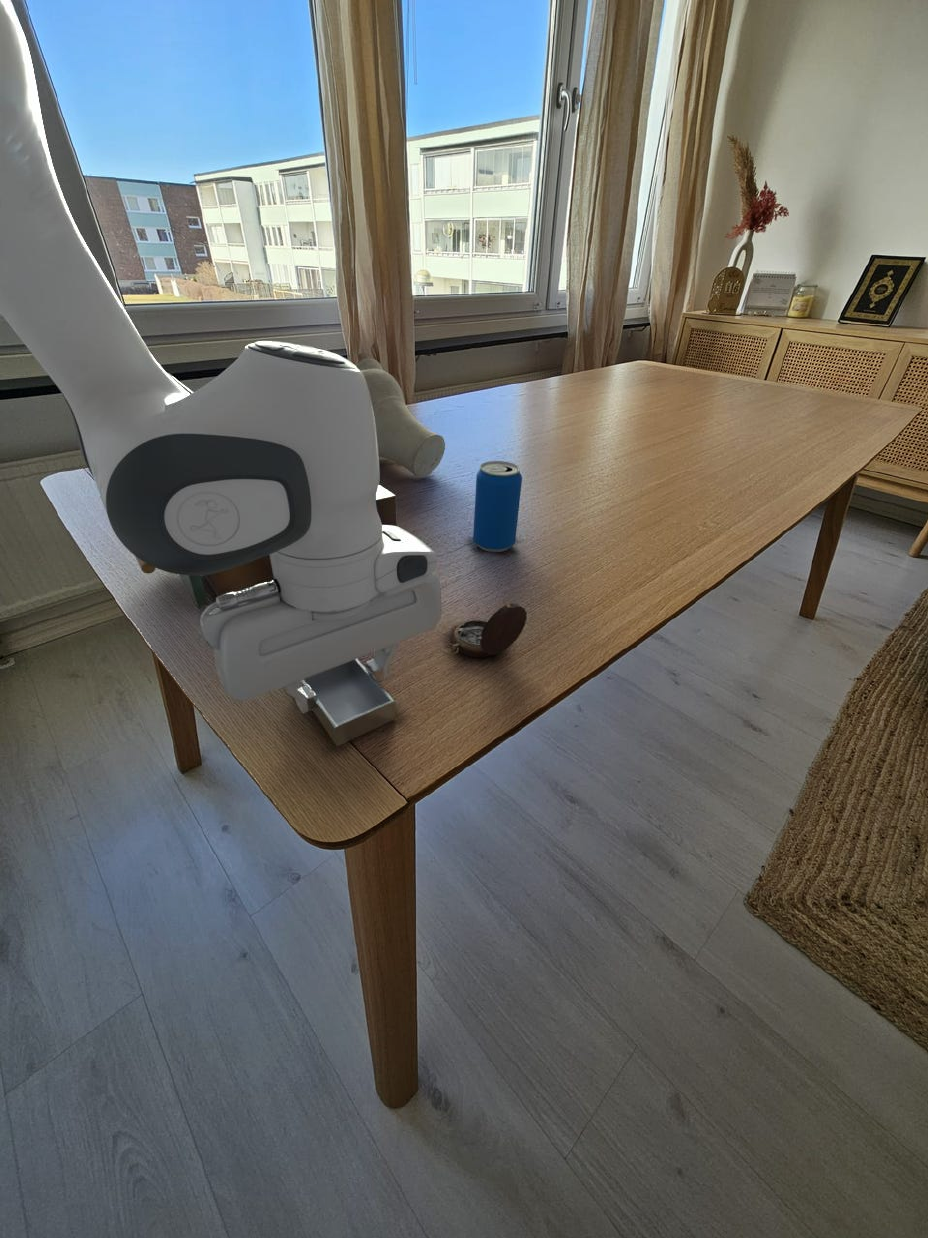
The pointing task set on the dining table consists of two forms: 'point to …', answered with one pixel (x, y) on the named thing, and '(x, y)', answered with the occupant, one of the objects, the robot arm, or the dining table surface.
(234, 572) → the drawer
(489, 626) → the compass
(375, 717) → the tray
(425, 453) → the vase
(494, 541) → the beverage can
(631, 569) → the dining table surface
